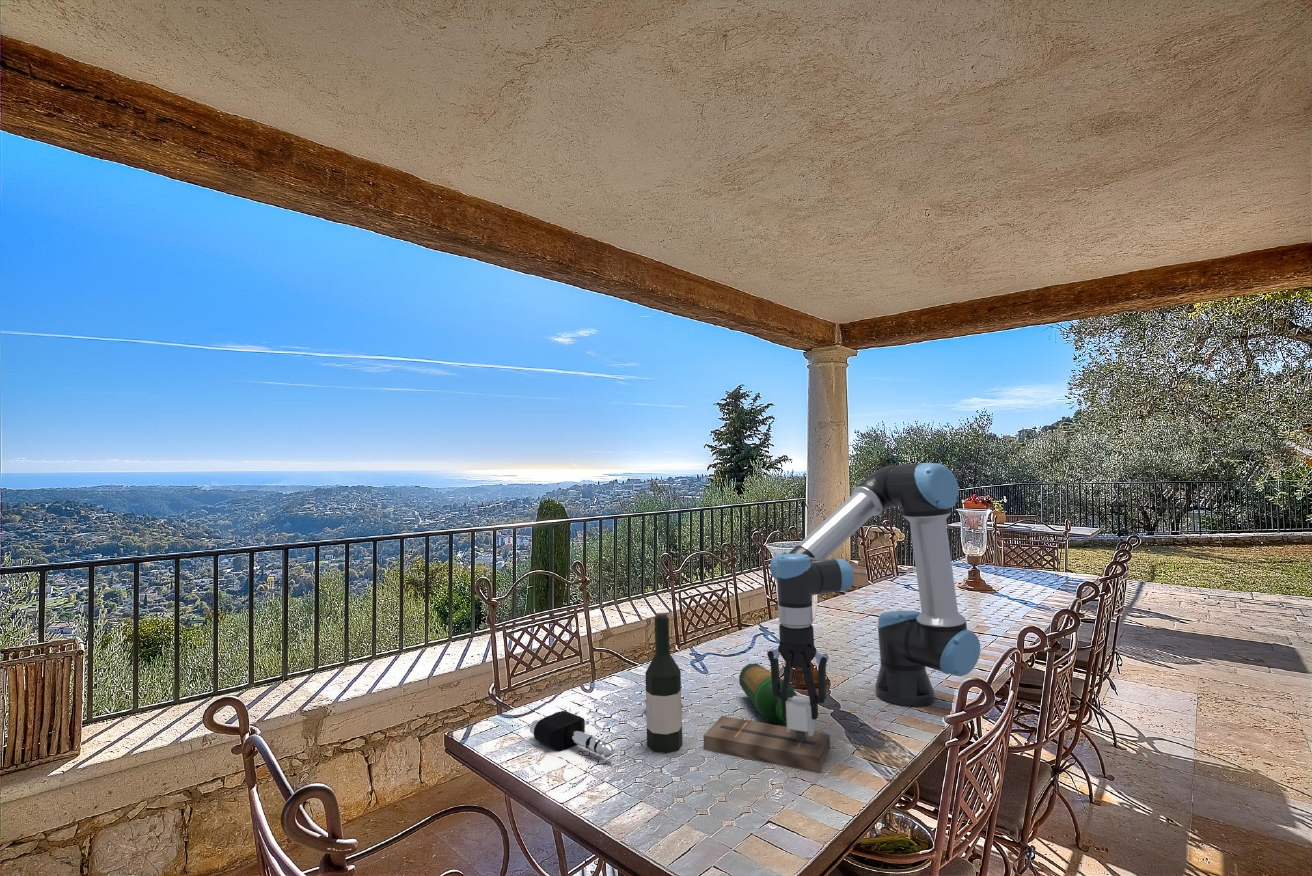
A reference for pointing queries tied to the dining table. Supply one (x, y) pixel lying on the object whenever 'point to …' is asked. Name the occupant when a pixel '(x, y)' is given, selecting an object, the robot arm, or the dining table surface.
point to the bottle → (763, 692)
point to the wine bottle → (663, 694)
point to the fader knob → (798, 716)
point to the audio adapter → (567, 733)
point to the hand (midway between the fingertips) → (800, 731)
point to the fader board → (767, 743)
